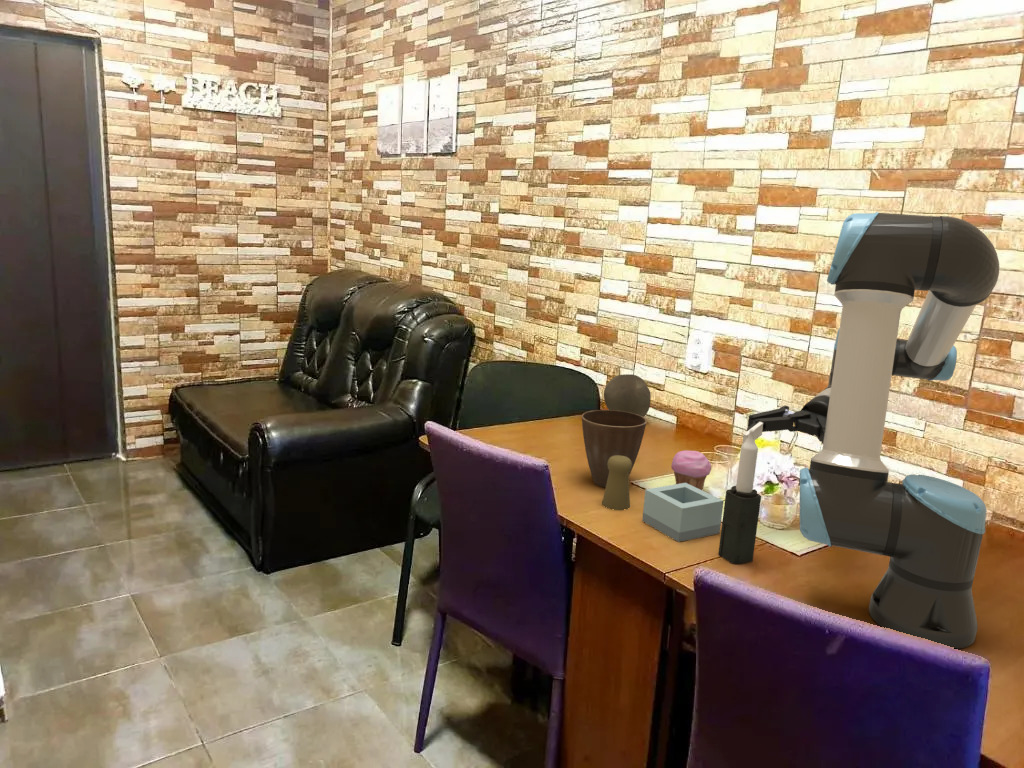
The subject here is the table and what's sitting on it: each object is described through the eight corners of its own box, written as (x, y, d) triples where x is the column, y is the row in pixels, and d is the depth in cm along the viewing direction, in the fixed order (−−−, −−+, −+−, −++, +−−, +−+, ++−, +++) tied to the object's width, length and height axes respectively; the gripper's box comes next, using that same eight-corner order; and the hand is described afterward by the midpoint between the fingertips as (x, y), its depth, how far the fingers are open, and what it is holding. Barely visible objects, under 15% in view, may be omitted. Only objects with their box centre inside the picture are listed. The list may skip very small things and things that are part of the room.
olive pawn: (629, 511, 159) (633, 462, 156) (600, 508, 160) (605, 459, 158) (630, 501, 165) (635, 454, 162) (603, 498, 166) (607, 451, 163)
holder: (719, 533, 150) (723, 500, 149) (678, 542, 145) (682, 508, 143) (682, 513, 160) (685, 482, 158) (642, 521, 154) (645, 489, 153)
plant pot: (591, 496, 167) (596, 427, 163) (567, 473, 181) (572, 410, 177) (651, 492, 171) (658, 425, 168) (624, 471, 185) (629, 408, 181)
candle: (715, 553, 141) (731, 426, 135) (736, 549, 143) (752, 424, 137) (734, 565, 136) (751, 434, 131) (755, 561, 138) (773, 432, 133)
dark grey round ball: (623, 413, 241) (627, 368, 238) (657, 424, 231) (662, 377, 227) (593, 419, 232) (596, 372, 229) (627, 430, 222) (631, 381, 218)
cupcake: (691, 502, 167) (696, 459, 164) (661, 490, 173) (665, 449, 171) (715, 494, 172) (720, 453, 170) (684, 483, 179) (689, 443, 177)
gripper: (886, 447, 146) (841, 494, 133) (767, 410, 162) (716, 447, 149) (893, 414, 143) (848, 458, 130) (771, 378, 159) (719, 414, 145)
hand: (777, 452), depth 139 cm, fingers open, 13 cm apart
